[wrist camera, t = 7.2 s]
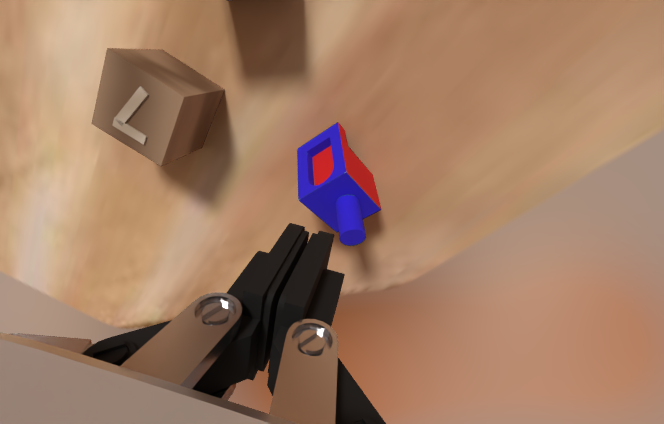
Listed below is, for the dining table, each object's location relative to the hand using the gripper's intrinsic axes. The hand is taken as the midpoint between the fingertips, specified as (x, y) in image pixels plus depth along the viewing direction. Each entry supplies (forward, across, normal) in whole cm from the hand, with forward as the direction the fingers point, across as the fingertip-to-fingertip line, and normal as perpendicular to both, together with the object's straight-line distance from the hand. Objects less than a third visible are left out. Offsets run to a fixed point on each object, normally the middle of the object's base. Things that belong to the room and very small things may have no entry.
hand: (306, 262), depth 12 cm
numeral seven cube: (+13, +13, -1) cm, 19 cm away
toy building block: (+13, +1, +1) cm, 13 cm away
